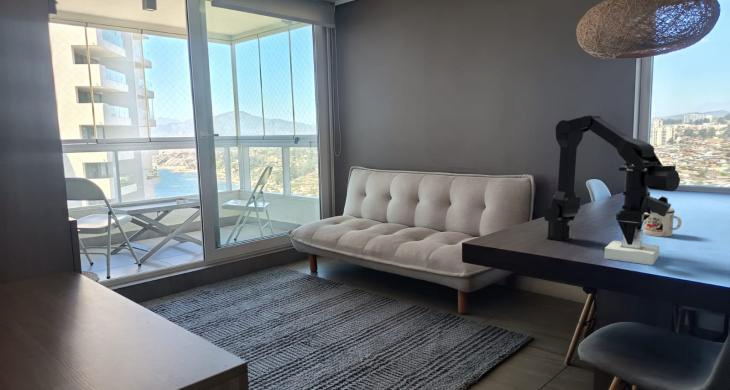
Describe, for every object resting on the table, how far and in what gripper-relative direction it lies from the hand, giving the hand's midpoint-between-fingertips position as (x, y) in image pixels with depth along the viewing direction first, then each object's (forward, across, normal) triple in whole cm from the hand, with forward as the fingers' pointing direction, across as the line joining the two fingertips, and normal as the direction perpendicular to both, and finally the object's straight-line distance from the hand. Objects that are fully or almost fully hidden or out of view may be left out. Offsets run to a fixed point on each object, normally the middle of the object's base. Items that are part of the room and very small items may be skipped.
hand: (632, 241), depth 136 cm
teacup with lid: (+5, +38, -3) cm, 38 cm away
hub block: (+5, 0, 0) cm, 5 cm away
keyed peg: (+5, 0, 0) cm, 5 cm away
